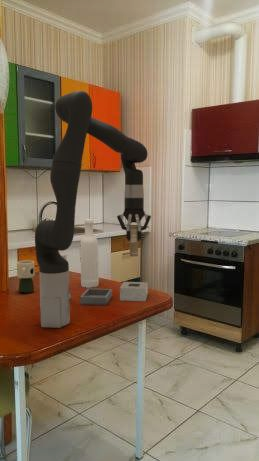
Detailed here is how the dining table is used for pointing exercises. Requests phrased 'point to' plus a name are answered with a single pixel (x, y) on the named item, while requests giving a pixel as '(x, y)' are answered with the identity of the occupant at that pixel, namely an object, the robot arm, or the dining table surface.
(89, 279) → the bottle
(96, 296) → the tray
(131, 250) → the pin
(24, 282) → the character mug
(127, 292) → the hitch block
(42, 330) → the dining table surface
